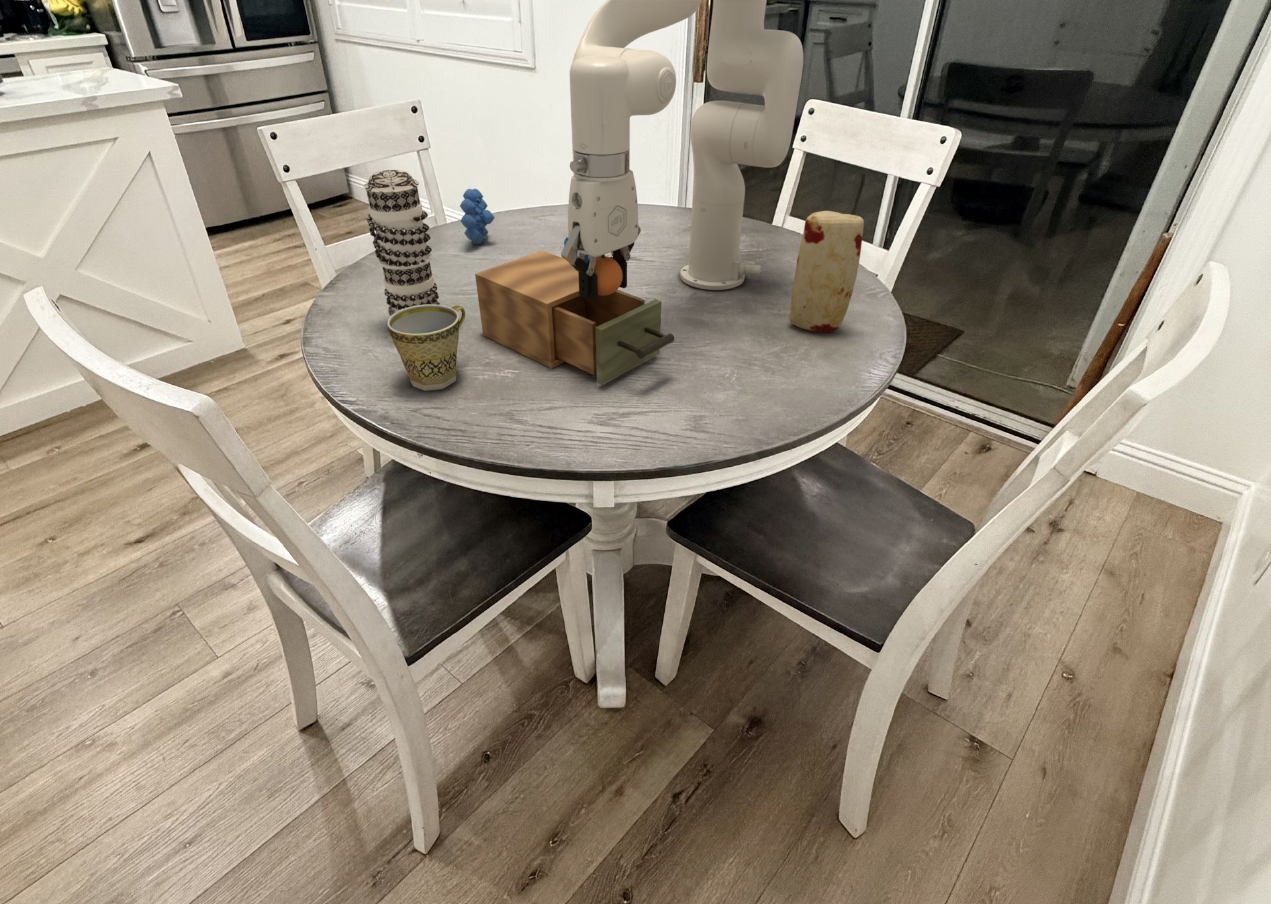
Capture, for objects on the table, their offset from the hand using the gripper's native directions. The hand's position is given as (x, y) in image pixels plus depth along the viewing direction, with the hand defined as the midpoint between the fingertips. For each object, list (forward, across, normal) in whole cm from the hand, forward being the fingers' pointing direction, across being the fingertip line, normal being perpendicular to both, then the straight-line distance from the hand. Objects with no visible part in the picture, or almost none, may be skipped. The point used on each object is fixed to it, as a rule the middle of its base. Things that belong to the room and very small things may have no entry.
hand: (603, 290), depth 104 cm
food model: (+12, +33, -19) cm, 40 cm away
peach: (-2, 0, 0) cm, 2 cm away
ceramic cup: (+12, -20, +15) cm, 28 cm away
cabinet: (+12, 0, +13) cm, 18 cm away
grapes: (+12, +20, +56) cm, 61 cm away
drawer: (+11, 0, -1) cm, 11 cm away
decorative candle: (+12, -12, +32) cm, 37 cm away
